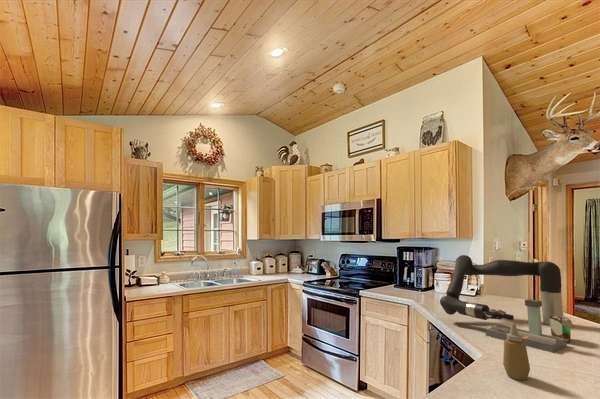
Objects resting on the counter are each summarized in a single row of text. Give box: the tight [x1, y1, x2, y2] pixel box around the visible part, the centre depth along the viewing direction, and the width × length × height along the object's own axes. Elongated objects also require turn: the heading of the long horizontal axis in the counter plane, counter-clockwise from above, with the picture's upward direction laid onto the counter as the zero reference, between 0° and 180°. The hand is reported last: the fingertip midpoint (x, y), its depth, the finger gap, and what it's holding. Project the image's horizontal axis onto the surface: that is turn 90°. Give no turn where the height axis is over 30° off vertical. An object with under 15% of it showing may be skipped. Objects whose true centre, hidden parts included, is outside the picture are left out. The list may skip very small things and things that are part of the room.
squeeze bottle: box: [502, 323, 531, 381], centre depth 119 cm, size 8×8×18 cm
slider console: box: [485, 323, 568, 354], centre depth 156 cm, size 14×28×4 cm, turn 33°
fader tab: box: [524, 298, 543, 336], centre depth 153 cm, size 4×5×16 cm
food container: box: [549, 315, 573, 344], centre depth 156 cm, size 12×6×10 cm, turn 168°
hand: (513, 317), depth 160 cm, fingers closed
